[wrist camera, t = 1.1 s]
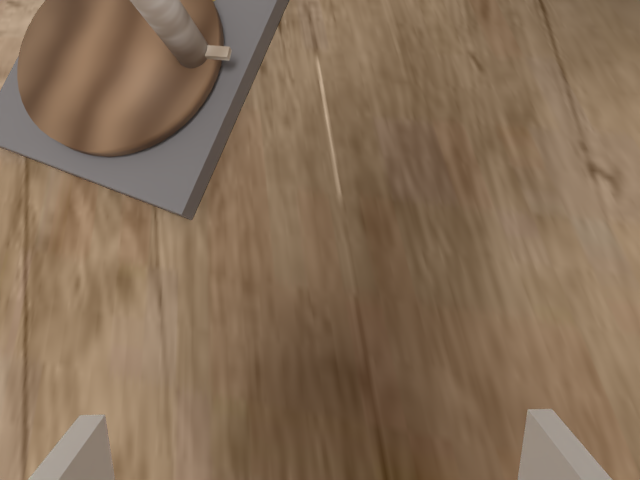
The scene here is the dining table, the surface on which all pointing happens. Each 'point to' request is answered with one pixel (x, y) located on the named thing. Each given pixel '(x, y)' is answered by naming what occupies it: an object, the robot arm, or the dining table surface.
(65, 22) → the dial
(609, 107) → the dining table surface
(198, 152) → the base
